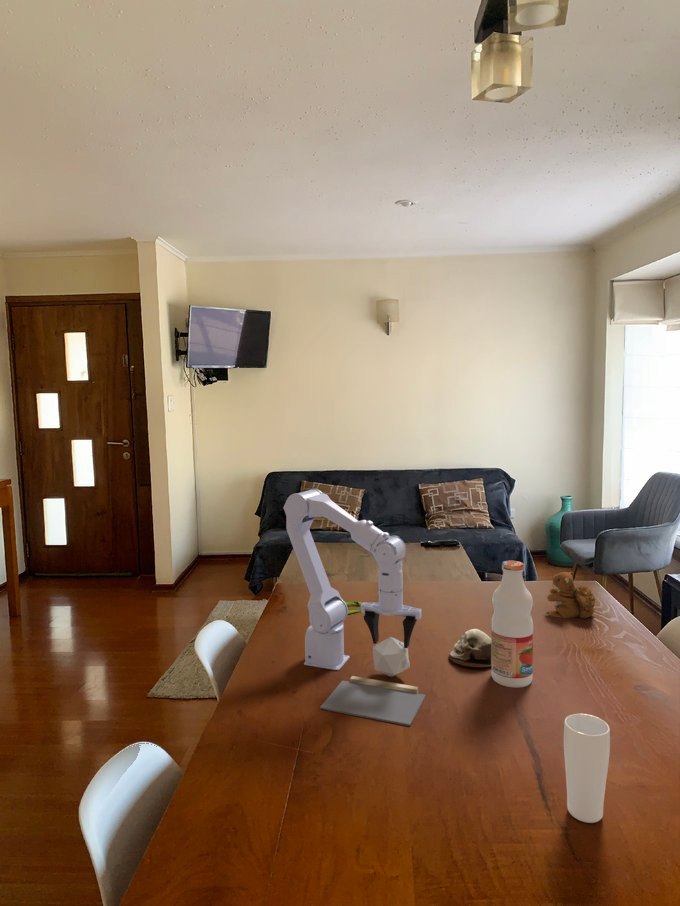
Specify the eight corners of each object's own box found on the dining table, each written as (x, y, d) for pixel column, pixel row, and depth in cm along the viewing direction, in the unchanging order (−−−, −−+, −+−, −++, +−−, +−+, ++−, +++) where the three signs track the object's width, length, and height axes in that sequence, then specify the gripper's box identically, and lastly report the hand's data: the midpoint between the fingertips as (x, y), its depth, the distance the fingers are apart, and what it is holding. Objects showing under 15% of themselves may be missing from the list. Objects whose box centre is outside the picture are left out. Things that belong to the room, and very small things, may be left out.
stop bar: (350, 683, 142) (350, 678, 142) (352, 680, 143) (352, 675, 143) (416, 694, 136) (416, 689, 136) (418, 692, 137) (418, 686, 137)
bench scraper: (320, 708, 131) (320, 707, 131) (342, 682, 143) (342, 680, 143) (410, 726, 123) (410, 724, 123) (425, 696, 135) (425, 694, 135)
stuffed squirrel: (554, 606, 190) (554, 565, 189) (601, 616, 182) (602, 573, 180) (542, 616, 183) (543, 573, 181) (591, 626, 174) (592, 581, 173)
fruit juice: (492, 668, 148) (493, 556, 146) (532, 672, 146) (534, 559, 143) (489, 685, 140) (490, 567, 137) (532, 691, 137) (534, 570, 134)
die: (408, 686, 140) (408, 645, 139) (369, 683, 142) (369, 642, 141) (411, 670, 148) (411, 630, 147) (375, 667, 150) (374, 628, 149)
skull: (444, 663, 148) (446, 624, 155) (451, 680, 155) (453, 641, 162) (494, 665, 144) (494, 625, 151) (499, 682, 151) (499, 642, 158)
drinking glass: (555, 800, 100) (556, 714, 99) (594, 797, 101) (596, 711, 99) (574, 829, 93) (576, 737, 92) (616, 826, 94) (619, 734, 92)
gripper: (355, 590, 142) (356, 646, 143) (416, 597, 137) (416, 655, 138) (365, 582, 148) (366, 635, 150) (423, 588, 143) (424, 643, 144)
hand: (391, 644), depth 144 cm, fingers open, 7 cm apart
